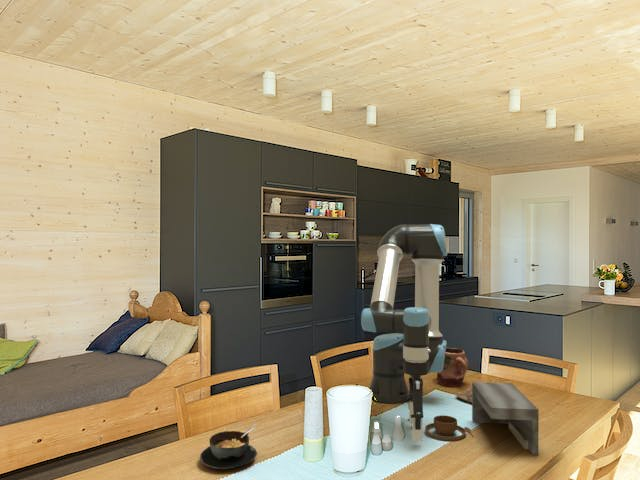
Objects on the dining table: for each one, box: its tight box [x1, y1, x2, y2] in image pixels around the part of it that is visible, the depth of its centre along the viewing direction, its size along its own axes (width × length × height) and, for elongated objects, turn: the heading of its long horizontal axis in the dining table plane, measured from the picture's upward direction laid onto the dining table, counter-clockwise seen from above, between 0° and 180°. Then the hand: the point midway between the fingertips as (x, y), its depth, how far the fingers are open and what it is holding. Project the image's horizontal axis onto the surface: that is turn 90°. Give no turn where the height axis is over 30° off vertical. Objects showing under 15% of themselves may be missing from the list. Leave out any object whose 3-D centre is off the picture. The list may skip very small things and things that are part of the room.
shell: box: [455, 388, 472, 405], centre depth 184 cm, size 12×13×4 cm
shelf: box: [471, 381, 540, 457], centre depth 150 cm, size 12×26×12 cm, turn 174°
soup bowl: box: [199, 423, 259, 470], centre depth 135 cm, size 15×16×7 cm
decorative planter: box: [436, 347, 470, 387], centre depth 205 cm, size 20×12×14 cm, turn 20°
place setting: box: [407, 403, 475, 442], centre depth 157 cm, size 18×20×6 cm
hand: (415, 431), depth 151 cm, fingers open, 13 cm apart
